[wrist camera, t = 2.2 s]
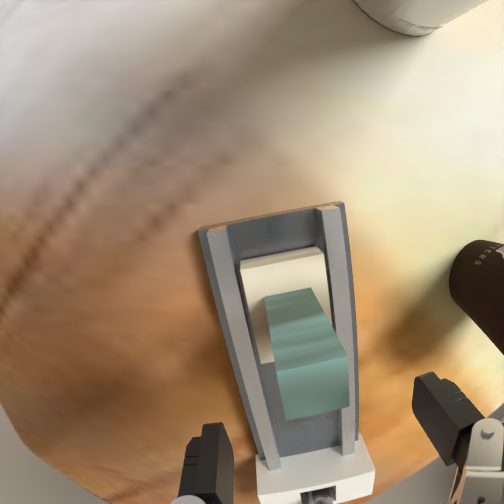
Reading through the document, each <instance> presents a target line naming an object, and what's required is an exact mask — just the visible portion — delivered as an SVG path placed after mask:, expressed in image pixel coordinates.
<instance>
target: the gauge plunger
mask: <svg viewBox="0 0 504 504" xmlns="http://www.w3.org/2000/svg"><path fill="white" fill-rule="evenodd" d="M305 494H306V500H307V504H333V500H332V496H331V492H330V488H329V487H327V488H322V489H318V490H313V491H308V492H305Z"/></svg>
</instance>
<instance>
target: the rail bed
mask: <svg viewBox="0 0 504 504" xmlns="http://www.w3.org/2000/svg"><path fill="white" fill-rule="evenodd" d="M198 235H199V239H200V244H201V248H202V252H203V256H204V260H205V264H206V269H207V273H208V277H209V281H210V285H211V289H212V293H213V297H214V300H215V304H216V308H217V312H218V316H219V320H220V323H221V327H222V331H223V335H224V338H225V342H226V346H227V349H228V353H229V357H230V360H231V364H232V367H233V371H234V374H235V378H236V381H237V385H238V388H239V392H240V395H241V398H242V402H243V405H244V409H245V412H246V415H247V418H248V422H249V425H250V428H251V432H252V435H253V438H254V441H255V444H256V447H257V451H258V454H259V457H260V460H261V461H262V460H266V461H267V464H268V467H269V471H274V470H280V469H282V466H281V457H287V456H292V455H298V454H303V453H308V452H313V451H317V450H322V449H326V448H330V447H335V446H340V449H341V452H342V456H346V455H350V454H354V453H355V441H357V440H358V425H359V381H358V347H357V327H356V311H355V297H354V285H353V274H352V264H351V254H350V245H349V236H348V228H347V220H346V213H345V206H344V203H343V202H340V201H339V202H333V203H327V204H321V205H316V206H310V207H305V208H299V209H294V210H289V211H283V212H278V213H273V214H267V215H262V216H257V217H252V218H247V219H242V220H237V221H232V222H227V223H222V224H217V225H212V226H207V227H202V228H199V230H198ZM314 246H317V247H318V248H319V249H320V250H321V251H322V252H323V253H324V259H325V267H326V275H327V283H328V292H329V300H330V310H331V319H332V327H333V329H334V331H335V333H336V335H337V337H338V339H339V341H340V342H341V344H342V346H343V348H344V350H345V352H346V354H347V356H348V373H349V402H350V406H349V407H346V408H342V409H338V410H334V411H330V412H325V413H321V414H317V415H312V416H307V417H303V418H298V419H293V420H287V421H286V418H285V413H284V409H283V404H282V399H281V394H280V389H279V384H278V379H277V374H276V368H275V362H269V363H264V364H261V362H260V357H259V353H258V348H257V344H256V339H255V335H254V331H253V326H252V322H251V317H250V313H249V308H248V303H247V299H246V294H245V290H244V285H243V281H242V276H241V271H240V261H242V260H248V259H253V258H258V257H263V256H268V255H273V254H278V253H283V252H288V251H294V250H299V249H304V248H309V247H314Z"/></svg>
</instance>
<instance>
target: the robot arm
mask: <svg viewBox="0 0 504 504" xmlns="http://www.w3.org/2000/svg"><path fill="white" fill-rule="evenodd" d="M354 1H355V2H356V3H357V4H358V5H359V6H360V8H361V9H362V10H363V11H365V12H366V13H367V14H368V15H369V16H370V17H371V18H373V19H374V20H376V21H377V22H379V23H380V24H381V25H383V26H385V27H387V28H389V29H391V30H393V31H396V32H399V33H402V34H406V35H412V36H422V35H426V34H429V33H431V32H433V31H435V30H436V29H438V28H441V27H443V26H444V25H445V24H446V23H448V22H450V21H452V20H453V19H455V18H457V17H459V16H461V15H462V14H464V13H466V12H468V11H470V10H471V9H473V8H475V7H477V6H479V5H480V4H482V3H484V2H486V1H488V0H354ZM412 409H413V412H414V415H415V417H416V418H417V420H418V421H419V423H420V425H421V426H422V428H423V429H424V431H425V432H426V434H427V436H428V437H429V439H430V440H431V442H432V444H433V445H434V447H435V448H436V450H437V452H438V453H439V455H440V456H441V458H442V460H443V461H444V463H445V465H446V466H449V465H451V464H453V463H456V464H457V466H458V468H457V471H456V475H455V479H454V483H453V486H452V490H451V494H450V497H449V501H448V504H500V502H501V496H502V490H503V483H504V423H501V422H499V421H498V420H496V419H493V418H485V417H484V416H483V415H482V414H481V413H480V412H479V411H478V409H477V408H476V407H475V406H474V405H473V404H472V402H471V401H470V400H469V399H468V398H466V396H465V394H464V393H463V392H461V390H460V389H459V388H458V386H457V385H456V384H455V383H453V382H451V381H449V380H447V379H445V378H444V379H442V380H440V379H439V378H438V377H437V375H436V374H435V373H434V372H432V371H431V372H428V373H426V374H423V375H420V376H418V377H416V378H415V381H414V390H413V399H412ZM183 465H184V466H183V469H182V475H181V482H180V488H179V494H178V497H177V498H176V499H175V500H173V501H172V502H171V503H170V504H233V470H234V456H233V450H232V446H231V443H230V441H229V438H228V435H227V433H226V430H225V428H224V425H223V423H222V422H220V423H211V424H204V425H203V428H202V436H201V437H193V438H192V439H191V441H190V442H189V444H188V445H187V446H186V452H185V458H184V464H183Z"/></svg>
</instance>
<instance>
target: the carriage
mask: <svg viewBox="0 0 504 504" xmlns="http://www.w3.org/2000/svg"><path fill="white" fill-rule="evenodd" d="M240 271H241V276H242V281H243V285H244V290H245V294H246V299H247V303H248V308H249V313H250V317H251V322H252V326H253V331H254V335H255V339H256V344H257V348H258V353H259V357H260V362H261V364H264V363H269V362H275V368H276V374H277V379H278V384H279V389H280V394H281V399H282V404H283V409H284V413H285V418H286V421H287V420H293V419H298V418H303V417H307V416H312V415H317V414H321V413H325V412H330V411H334V410H338V409H342V408H346V407H349V406H350V402H349V373H348V356H347V354H346V352H345V350H344V348H343V346H342V344H341V342H340V341H339V339H338V337H337V335H336V333H335V331H334V329H333V327H332V319H331V310H330V300H329V292H328V283H327V275H326V267H325V259H324V253H323V252H322V251H321V250H320V249H319V248H318V247H317V246H314V247H309V248H304V249H299V250H294V251H288V252H283V253H278V254H273V255H268V256H263V257H258V258H253V259H248V260H242V261H240Z"/></svg>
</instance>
